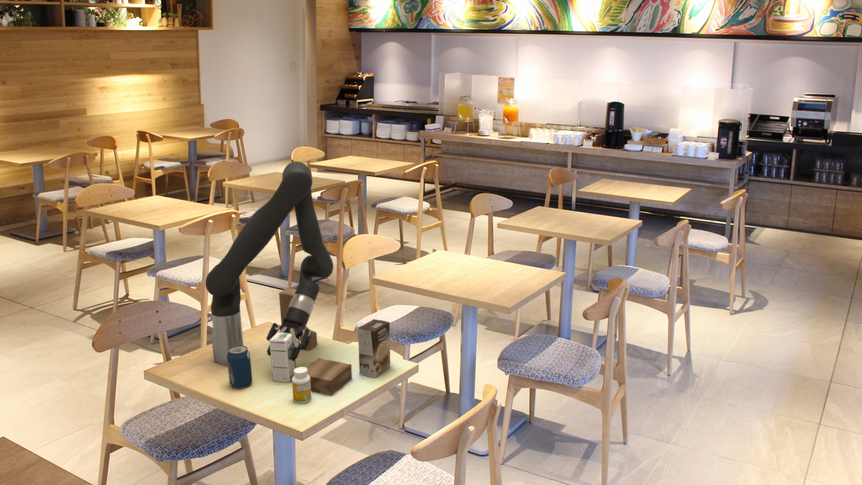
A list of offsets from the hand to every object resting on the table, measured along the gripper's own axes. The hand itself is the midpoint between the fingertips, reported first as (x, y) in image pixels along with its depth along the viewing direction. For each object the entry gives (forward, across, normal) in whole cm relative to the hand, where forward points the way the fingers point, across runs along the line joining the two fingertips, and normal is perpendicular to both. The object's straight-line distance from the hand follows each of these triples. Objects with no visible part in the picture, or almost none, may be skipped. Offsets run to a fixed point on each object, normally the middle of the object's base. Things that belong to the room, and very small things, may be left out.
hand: (280, 357), depth 226 cm
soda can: (+11, -10, 0) cm, 15 cm away
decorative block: (-12, -10, +23) cm, 27 cm away
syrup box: (+5, 0, +6) cm, 8 cm away
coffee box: (-7, +24, +18) cm, 31 cm away
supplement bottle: (+11, +13, 0) cm, 17 cm away
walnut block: (+3, +14, +8) cm, 16 cm away
